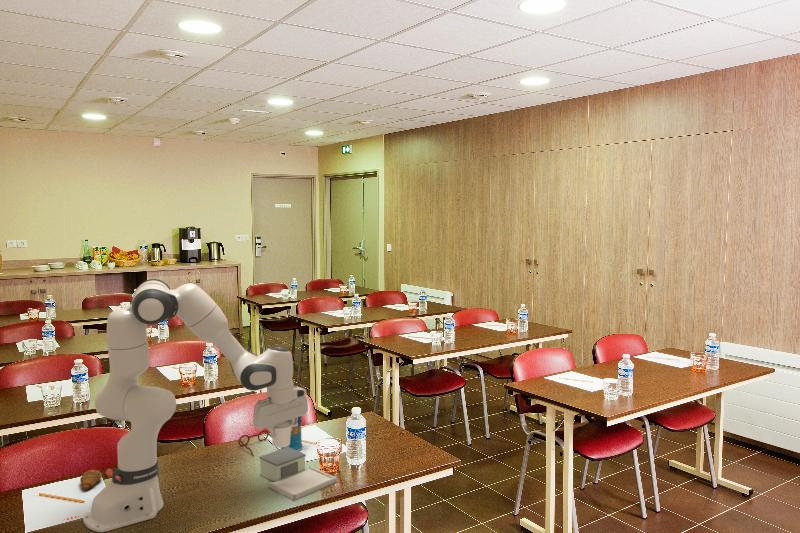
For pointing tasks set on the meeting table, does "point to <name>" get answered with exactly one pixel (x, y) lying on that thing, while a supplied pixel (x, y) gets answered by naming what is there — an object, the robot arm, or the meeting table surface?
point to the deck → (292, 474)
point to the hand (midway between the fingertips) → (281, 434)
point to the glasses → (249, 439)
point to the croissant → (90, 479)
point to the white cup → (282, 434)
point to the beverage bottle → (296, 435)
